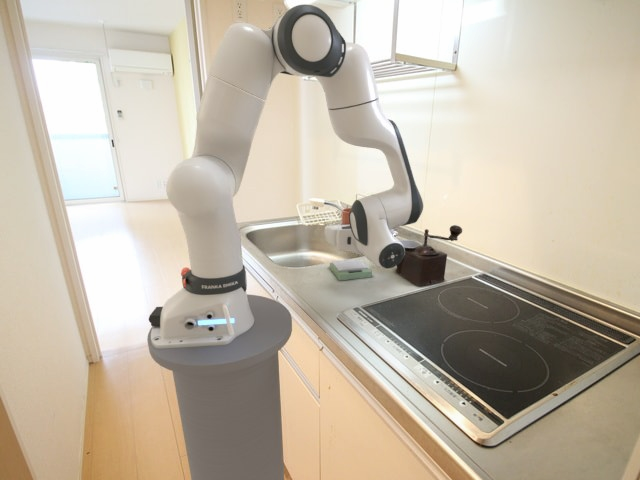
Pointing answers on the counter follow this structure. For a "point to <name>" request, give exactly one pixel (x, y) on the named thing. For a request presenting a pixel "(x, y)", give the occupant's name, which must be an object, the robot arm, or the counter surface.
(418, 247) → the manual coffee grinder
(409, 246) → the coffee mug
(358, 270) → the scale
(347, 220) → the tumbler
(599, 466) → the counter surface
